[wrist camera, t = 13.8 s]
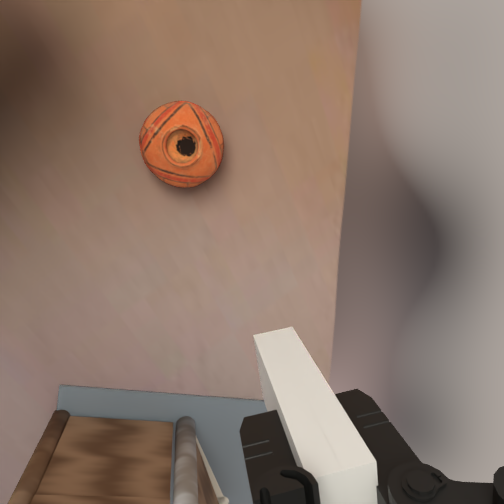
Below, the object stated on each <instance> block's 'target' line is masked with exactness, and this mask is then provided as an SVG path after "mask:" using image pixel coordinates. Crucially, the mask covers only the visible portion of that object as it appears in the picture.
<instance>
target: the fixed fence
mask: <svg viewBox="0 0 504 504" xmlns="http://www.w3.org/2000/svg"><path fill="white" fill-rule="evenodd" d="M172 437H173V422H160V421H143V420H127V419H111V418H95V417H78V416H71V415H70V413H69V412H68V411H66V410H56V411H55V412H54V413H53V415H52V417H51V419H50V421H49V423H48V425H47V427H46V429H45V431H44V433H43V435H42V437H41V439H40V441H39V443H38V445H37V447H36V449H35V451H34V453H33V455H32V457H31V459H30V461H29V463H28V465H27V467H26V469H25V471H24V473H23V475H22V476H21V478H20V480H19V482H18V484H17V486H16V488H15V490H14V492H13V494H12V496H11V498H10V500H9V502H8V504H170V483H171V460H172ZM173 504H198V482H197V456H196V430H195V421H194V419H193V418H191V417H189V416H184V417H181V418H179V419H178V420H177V422H176V430H175V460H174V489H173Z"/></svg>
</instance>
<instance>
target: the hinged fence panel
mask: <svg viewBox="0 0 504 504" xmlns="http://www.w3.org/2000/svg"><path fill="white" fill-rule="evenodd" d="M196 456H197V482H198V504H219V502H218V499H217V497H216V494H215V491H214V488H213V486H212V483H211V480H210V478H209V475H208V472H207V470H206V467H205V464H204V462H203V459H202V456H201V453H200V451H199V448H198V445H197V443H196Z"/></svg>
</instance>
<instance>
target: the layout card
mask: <svg viewBox="0 0 504 504" xmlns="http://www.w3.org/2000/svg"><path fill="white" fill-rule="evenodd" d="M57 410H66V411H68V412H69V413H70V415H71V416H78V417H95V418H111V419H127V420H143V421H160V422H173V437H172V460H171V483H170V504H173V489H174V460H175V430H176V422H177V420H178V419H179V418H181V417H184V416H189V417H191V418H193V419H194V421H195V430H196V443H197V445H198V448H199V451H200V453H201V456H202V459H203V462H204V464H205V467H206V470H207V472H208V475H209V478H210V480H211V483H212V486H213V488H214V491H215V494H216V497H217V499H218V502H219V504H253V501H252V496H251V491H250V486H249V481H248V476H247V470H246V465H245V460H244V454H243V449H242V443H241V438H240V433H239V431H240V428H241V425H242V421H243V418H244V417H248V416H252V415H256V414H260V413H264V412H268V411H267V408H266V405H265V402H264V400H251V399H238V398H225V397H212V396H199V395H186V394H173V393H160V392H147V391H134V390H121V389H108V388H95V387H82V386H69V385H60V386H59V394H58V403H57Z"/></svg>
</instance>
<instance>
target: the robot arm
mask: <svg viewBox="0 0 504 504" xmlns="http://www.w3.org/2000/svg"><path fill="white" fill-rule="evenodd" d="M253 337H254V344H255V350H256V356H257V362H258V369H259V375H260V381H261V387H262V394H263V399H264V402H265V405H266V408H267V411H268V412H264V413H260V414H256V415H252V416H248V417H244V418H243V421H242V425H241V428H240V431H239V433H240V438H241V443H242V449H243V454H244V460H245V465H246V470H247V476H248V481H249V486H250V491H251V496H252V501H253V504H504V466H503V467H500V468H499V469H498V470H497V471H496V473H495V474H494V482H493V483H475V482H460V481H453V480H450V479H448V478H447V477H446V476H445V475H444V474H443V473H442V472H441V471H439V470H438V469H435V468H434V467H432V466H430V465H427V464H423V463H422V462H421V461H420V460H419V459H418V457H417V456H416V455H415V454H414V452H413V451H412V450H411V448H410V447H409V446H408V444H407V443H406V442H405V441H404V439H403V438H402V437H401V435H400V434H399V433H398V432H397V430H396V429H395V427H394V426H393V425H392V424H391V422H389V420H388V418H387V417H386V416H385V414H384V413H383V412H381V409H380V408H379V407H378V405H377V404H376V403H375V401H374V400H373V399H372V398H371V397H370V396H368V395H366V394H365V393H363V392H362V391H360V390H358V389H354V390H351V391H346V392H342V393H338V394H334V393H333V391H332V389H331V388H330V386H329V385H328V383H327V381H326V380H325V378H324V377H323V375H322V373H321V372H320V370H319V369H318V367H317V365H316V364H315V362H314V361H313V359H312V357H311V356H310V354H309V353H308V351H307V349H306V348H305V346H304V345H303V343H302V341H301V340H300V338H299V337H298V335H297V333H296V332H295V330H294V329H293V327H289V328H284V329H279V330H275V331H270V332H265V333H261V334H256V335H253Z"/></svg>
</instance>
